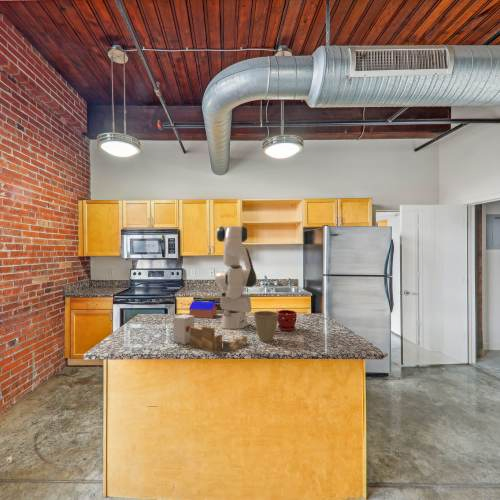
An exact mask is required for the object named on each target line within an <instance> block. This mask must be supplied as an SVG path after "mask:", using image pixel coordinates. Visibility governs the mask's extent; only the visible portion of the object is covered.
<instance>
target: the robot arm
mask: <svg viewBox="0 0 500 500" xmlns="http://www.w3.org/2000/svg"><path fill="white" fill-rule="evenodd" d="M215 237H216V239H217V241H218V242H221V243H223V242H224V245H223V264H224V265H225V266H227V268H228V270H227V271H220V272H219V271H218V272H217V273H216V274H215V277H214V282H215V285H217V286H218V287H219V289H220V291H221V293H220V300H219V301H220V302H219V303H220V305H219V306H220V308H221V310H222V321H221V323H220V326H221V328H222V329H227V330H233V329H235V330H236V329H241V330H242V329H243V328H246V327H247V326H249V325H251V322H250V321H248V317H247V315H246V314H248V313H251V311H252V303H251V301H252V300H251V297H250V296H249V295H247V294H244V288H245V287H247V288H252V287H253V286H255V285H256V284H257V280H258V279H257V278H258V277H257V274H256V271H255V269H254V265H253V262H252V257H251V255H250V251H249V249H248V248H247V247H245V246H244V244H243V243H245V242H246V241H247V240H248V238H249V231H248V228H247V227H245V226H242V225H241V226H238V225H229V226H226V225H225V226H222V225H221V226H219V227H217V228H216V232H215ZM240 259H241V261H243V262H244V265H245V269H243V266H242V265H241V263H240Z"/></svg>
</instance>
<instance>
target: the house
mask: <svg viewBox="0 0 500 500" xmlns="http://www.w3.org/2000/svg"><path fill="white" fill-rule="evenodd" d="M188 310H189V315H193V316H194V318H198V319H199V318H201V319H203V318H204V319H213V318H214V316H215V317H216V316H217V315H218V313H217V312H218V306H217V304H216V302H214V301H212V302H211V301H191V303H190V305H189V308H188Z"/></svg>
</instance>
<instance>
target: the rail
mask: <svg viewBox="0 0 500 500" xmlns="http://www.w3.org/2000/svg"><path fill="white" fill-rule="evenodd" d="M247 343H248V336H246V335H241V336H238V337H236V338H233V339H230V340H228V341H226V340H223V341H222V351H224V352H230V351H232V350H234V349H236V348H239V347H242V346H245V345H246V344H247Z"/></svg>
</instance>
